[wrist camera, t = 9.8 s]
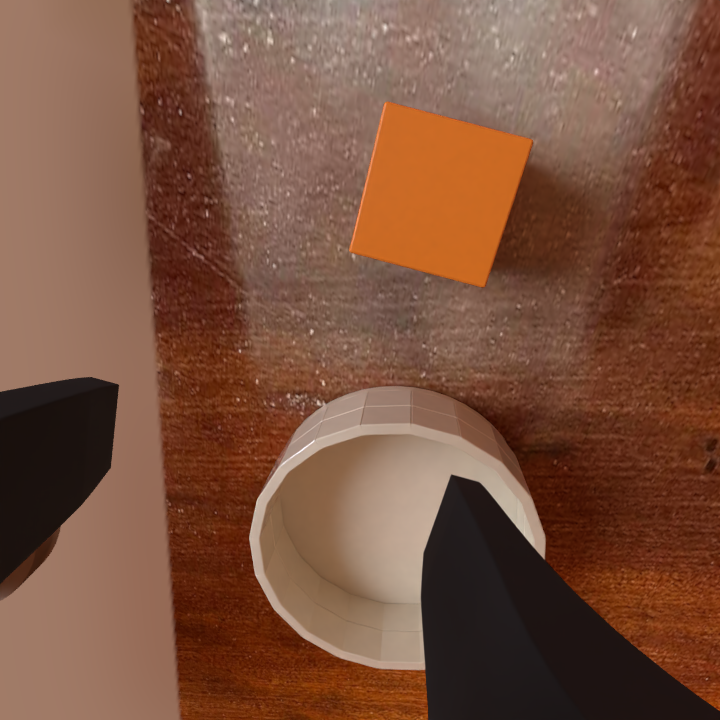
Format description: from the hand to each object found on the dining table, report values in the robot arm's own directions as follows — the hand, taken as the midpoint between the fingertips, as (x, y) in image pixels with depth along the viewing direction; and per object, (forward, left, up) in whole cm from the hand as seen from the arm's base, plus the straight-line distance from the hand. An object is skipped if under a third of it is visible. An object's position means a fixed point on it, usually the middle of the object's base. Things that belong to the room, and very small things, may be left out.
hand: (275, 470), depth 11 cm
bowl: (+4, -6, -9) cm, 12 cm away
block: (+2, +6, -9) cm, 11 cm away
